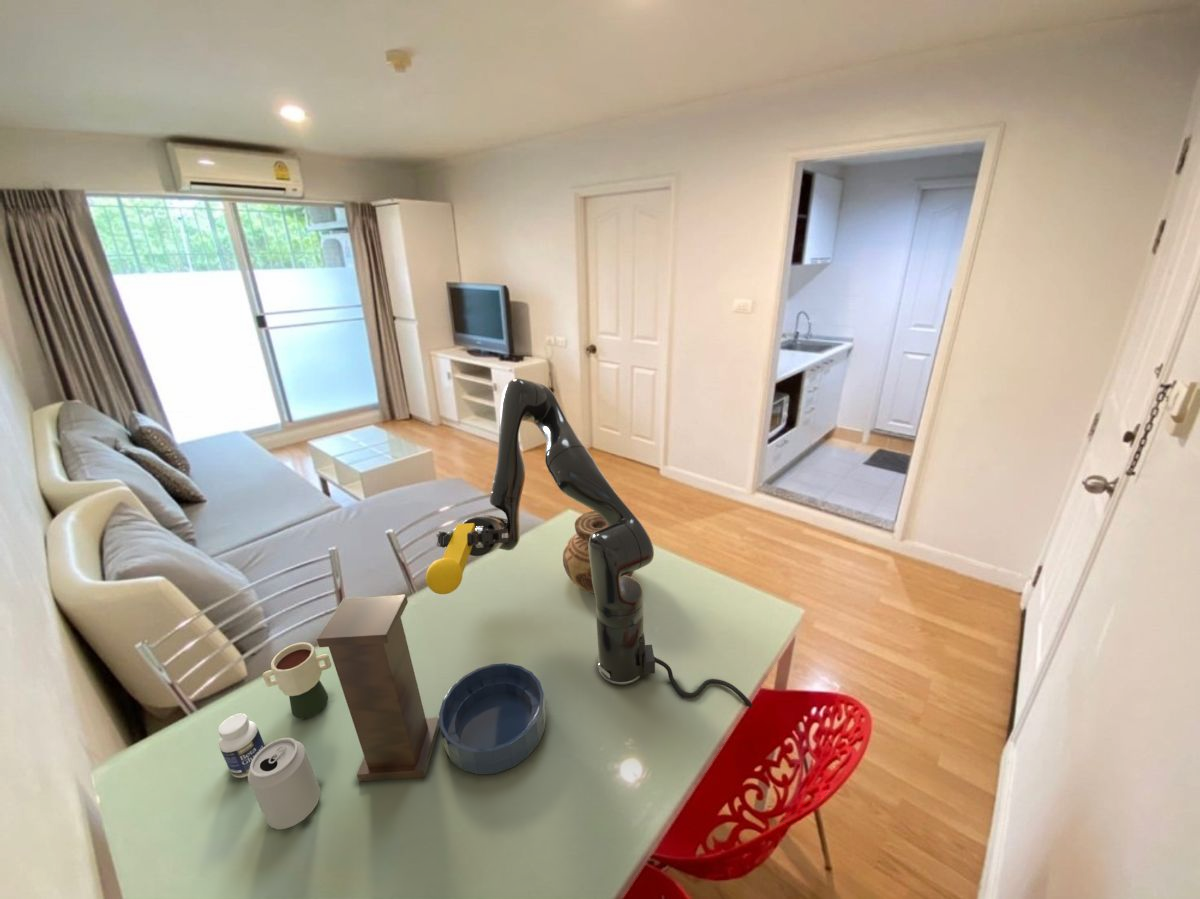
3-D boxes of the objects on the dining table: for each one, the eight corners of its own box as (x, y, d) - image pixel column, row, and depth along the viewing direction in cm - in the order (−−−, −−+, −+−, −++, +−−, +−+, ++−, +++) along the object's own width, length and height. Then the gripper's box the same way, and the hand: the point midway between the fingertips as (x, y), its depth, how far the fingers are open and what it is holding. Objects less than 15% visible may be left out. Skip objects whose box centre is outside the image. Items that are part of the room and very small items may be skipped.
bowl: (548, 683, 99) (546, 660, 96) (542, 772, 82) (539, 747, 80) (457, 689, 98) (453, 666, 96) (432, 780, 81) (426, 755, 79)
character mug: (343, 683, 101) (327, 634, 96) (341, 711, 95) (323, 659, 90) (282, 703, 97) (262, 652, 92) (276, 732, 91) (254, 680, 86)
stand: (440, 723, 91) (410, 592, 80) (425, 777, 82) (388, 637, 71) (381, 727, 91) (342, 596, 80) (358, 781, 82) (310, 641, 70)
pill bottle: (250, 781, 82) (231, 740, 79) (223, 776, 84) (204, 735, 80) (276, 751, 87) (259, 711, 84) (250, 746, 88) (233, 707, 85)
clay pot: (649, 593, 118) (615, 528, 111) (579, 618, 121) (542, 557, 114) (643, 547, 136) (614, 489, 129) (583, 570, 139) (550, 515, 132)
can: (257, 822, 76) (232, 770, 72) (300, 777, 83) (279, 726, 78) (290, 841, 74) (267, 788, 69) (332, 793, 80) (313, 741, 76)
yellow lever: (482, 535, 88) (478, 509, 86) (460, 600, 71) (455, 571, 69) (453, 536, 88) (448, 511, 86) (424, 602, 71) (418, 573, 69)
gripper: (446, 518, 99) (415, 519, 82) (516, 514, 99) (500, 514, 82) (447, 556, 98) (416, 565, 81) (517, 552, 98) (501, 560, 81)
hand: (458, 539), depth 82 cm, fingers closed on yellow lever, 3 cm apart
